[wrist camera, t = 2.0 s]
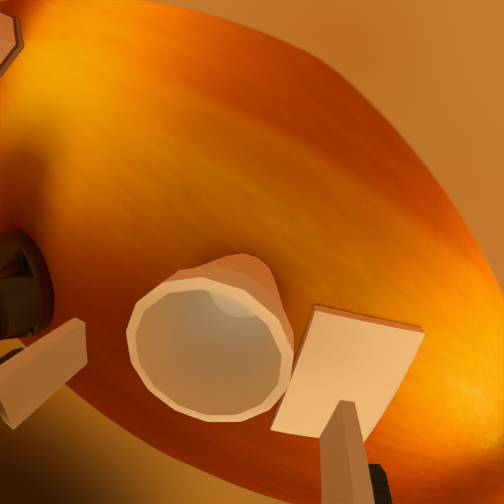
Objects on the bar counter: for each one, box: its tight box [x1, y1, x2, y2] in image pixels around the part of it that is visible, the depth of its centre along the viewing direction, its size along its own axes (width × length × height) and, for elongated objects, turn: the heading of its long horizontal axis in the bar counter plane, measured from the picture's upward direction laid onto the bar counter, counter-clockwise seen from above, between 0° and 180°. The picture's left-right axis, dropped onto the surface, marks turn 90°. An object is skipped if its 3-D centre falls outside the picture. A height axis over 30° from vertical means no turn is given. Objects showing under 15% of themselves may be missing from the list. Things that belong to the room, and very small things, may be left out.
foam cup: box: [126, 253, 294, 422], centre depth 21 cm, size 10×9×13 cm
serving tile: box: [270, 304, 425, 442], centre depth 27 cm, size 12×16×2 cm
